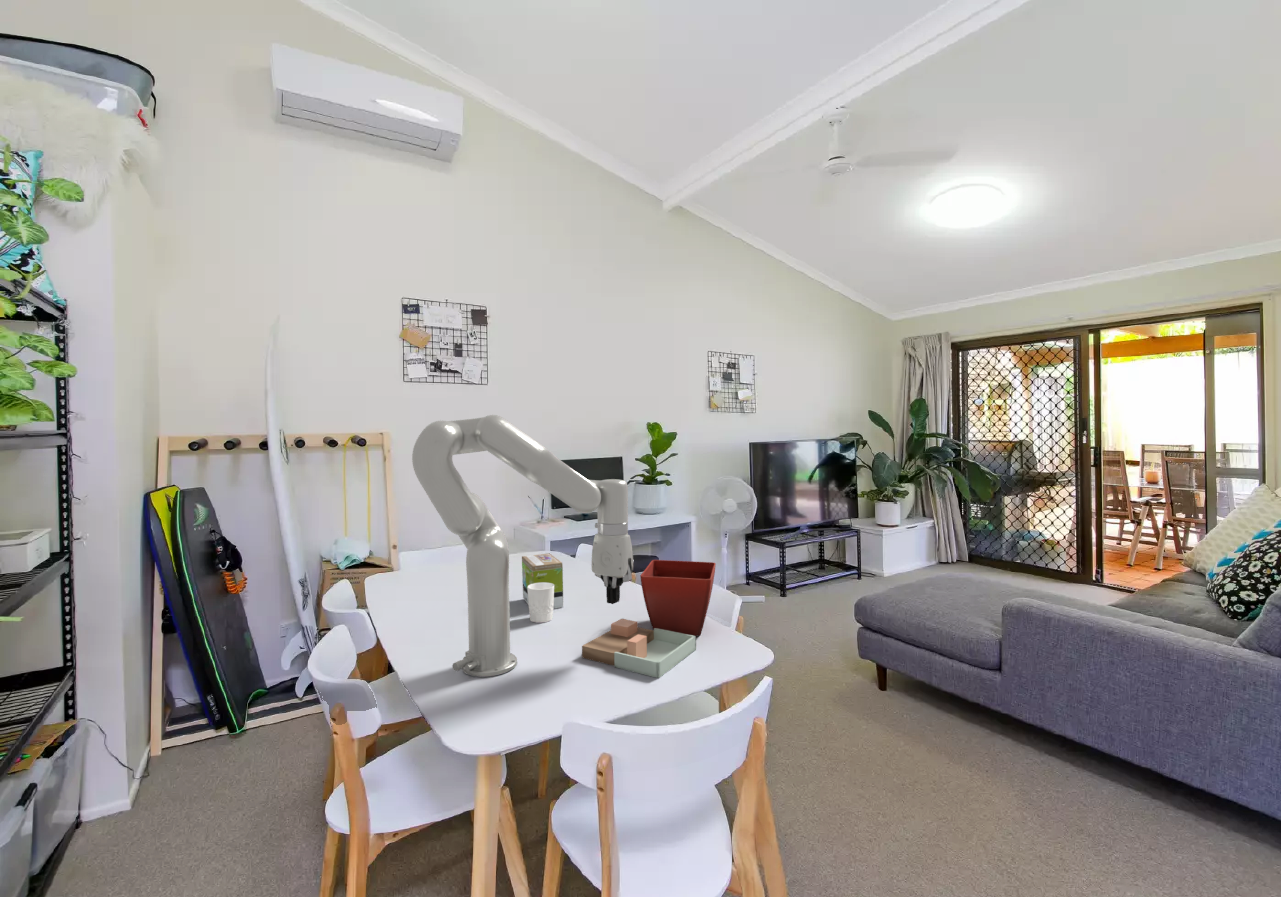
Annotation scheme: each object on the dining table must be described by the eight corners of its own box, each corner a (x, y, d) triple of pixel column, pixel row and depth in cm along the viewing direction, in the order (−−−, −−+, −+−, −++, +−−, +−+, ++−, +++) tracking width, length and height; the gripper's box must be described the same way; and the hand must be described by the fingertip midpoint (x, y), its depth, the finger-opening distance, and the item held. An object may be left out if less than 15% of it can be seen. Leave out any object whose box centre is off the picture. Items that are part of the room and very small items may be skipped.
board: (615, 666, 135) (615, 653, 135) (582, 657, 140) (581, 645, 140) (653, 641, 150) (653, 630, 150) (622, 635, 155) (622, 624, 155)
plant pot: (711, 642, 150) (710, 578, 149) (640, 637, 153) (639, 575, 153) (716, 618, 168) (716, 562, 168) (652, 615, 172) (652, 559, 172)
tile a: (627, 661, 136) (636, 663, 135) (627, 640, 136) (636, 642, 135) (638, 654, 140) (646, 656, 139) (637, 634, 140) (646, 636, 139)
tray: (658, 678, 128) (658, 663, 128) (614, 667, 134) (614, 652, 134) (696, 649, 144) (695, 636, 144) (655, 641, 151) (654, 627, 151)
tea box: (521, 599, 189) (521, 555, 189) (551, 595, 193) (550, 552, 193) (533, 612, 176) (532, 564, 175) (564, 607, 180) (563, 561, 179)
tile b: (627, 637, 146) (627, 627, 145) (611, 633, 148) (611, 624, 148) (637, 631, 150) (637, 621, 150) (621, 627, 152) (621, 618, 152)
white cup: (522, 621, 167) (521, 587, 167) (539, 613, 174) (538, 581, 174) (543, 625, 164) (543, 590, 163) (560, 617, 171) (559, 584, 170)
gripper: (579, 528, 143) (580, 601, 143) (629, 534, 134) (629, 611, 135) (598, 524, 149) (598, 594, 149) (646, 529, 141) (646, 603, 141)
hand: (613, 602), depth 142 cm, fingers closed
